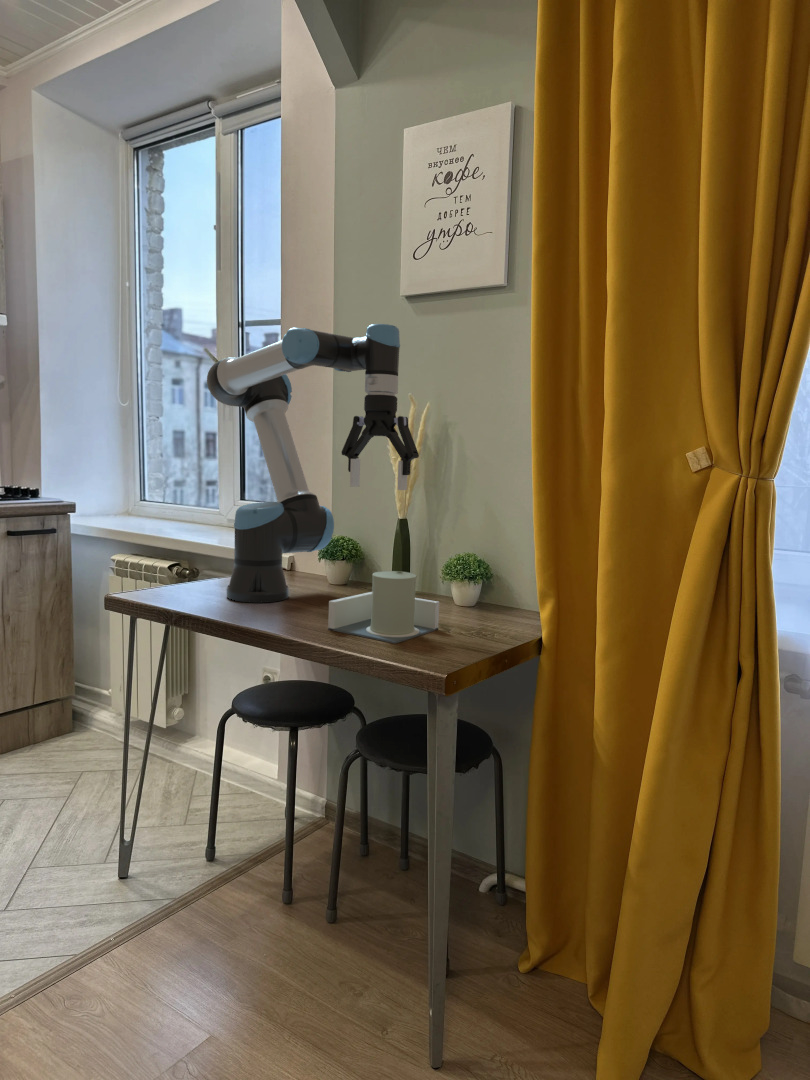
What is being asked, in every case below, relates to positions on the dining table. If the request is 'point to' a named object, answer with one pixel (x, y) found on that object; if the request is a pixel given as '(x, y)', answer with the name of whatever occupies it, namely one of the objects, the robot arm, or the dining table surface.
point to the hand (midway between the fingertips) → (377, 488)
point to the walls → (361, 608)
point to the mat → (365, 631)
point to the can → (393, 602)
